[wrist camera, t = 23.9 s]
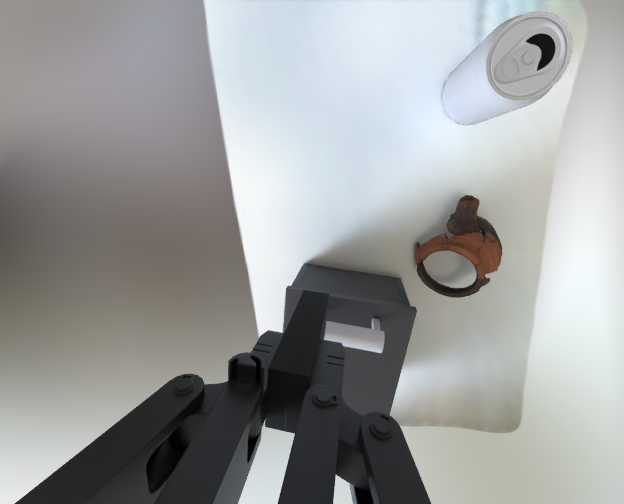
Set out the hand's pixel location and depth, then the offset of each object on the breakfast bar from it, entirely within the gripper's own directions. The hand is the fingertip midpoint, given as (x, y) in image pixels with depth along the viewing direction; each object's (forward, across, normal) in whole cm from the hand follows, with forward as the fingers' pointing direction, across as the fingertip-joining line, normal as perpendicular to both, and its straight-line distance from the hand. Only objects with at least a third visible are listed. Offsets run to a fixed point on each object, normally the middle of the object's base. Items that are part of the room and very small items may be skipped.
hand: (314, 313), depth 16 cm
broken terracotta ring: (+24, +14, 0) cm, 28 cm away
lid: (+14, +2, -13) cm, 19 cm away
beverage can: (+24, +12, +16) cm, 32 cm away
